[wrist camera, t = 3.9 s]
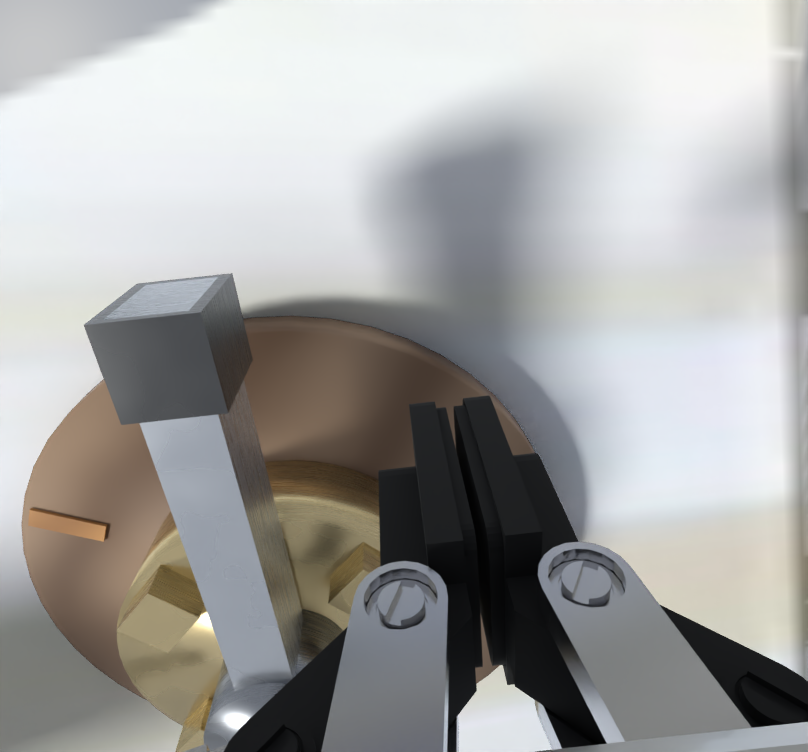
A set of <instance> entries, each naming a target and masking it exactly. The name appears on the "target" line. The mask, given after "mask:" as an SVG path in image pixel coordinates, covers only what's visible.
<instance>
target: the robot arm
mask: <svg viewBox="0 0 808 752" xmlns="http://www.w3.org/2000/svg"><path fill="white" fill-rule="evenodd" d="M409 410H410V420H411V429H412V439H413V448H414V457H415V466H413V467H404V468H395V469H386V470H379V472H378V480H379V525H380V567H378V568H376V569H375V570H374V571H372V572H371V573H369V574H368V575H367V576H366V577H365V578H364V579H363V580H362V582H361V583H360V584H359V585H358V588H357V590H356V593H355V595H354V599H353V603H352V608H351V613H350V618H349V622H348V627H347V628H346V629H345V630H343V631H342V632H341V633H340V634H339V635H338V636H337V637H336V638H335V639H334V640H333V641H332V642H331V643H330V644H329V645H328V646H326V647H325V648H324V649H323V650H322V651H321V652H320V653H319V654H318V655H317V656H316V657H315V658H314V659H313V660H312V661H311V662H309V663H308V664H307V665H306V666H305V667H304V668H303V669H302V670H301V671H300V672H299V673H298V674H297V675H296V676H295V677H294V678H292V679H291V680H290V681H289V682H288V683H287V684H286V685H285V686H284V687H283V688H282V689H281V690H280V691H279V692H278V693H277V694H275V695H274V696H273V697H272V698H271V699H270V700H269V701H268V702H267V703H266V704H265V705H264V706H263V707H262V708H261V709H260V710H258V711H257V712H256V713H255V714H254V715H253V716H252V717H251V718H250V719H249V720H248V721H247V722H246V723H245V724H244V725H243V726H242V727H241V728H240V729H239V730H238V731H237V732H236V734H235V735H234V736H233V737H232V738H231V740H230V741H229V742H228V744H227V745H224V746H221V747H218V748H215V749H212V750H209V748H208V745H207V744H204V745H201V746H198V747H195V748H192V749H189V750H187V751H184V752H459V722H458V714H459V713H460V712H461V710H462V709H463V708H464V706H465V705H466V704H467V702H468V701H469V700H470V699H471V697H472V696H473V695H474V693H475V692H476V691H477V690H476V672H475V668H478V667H483V658H482V637H481V617H482V622H483V627H484V632H485V636H486V641H487V646H488V651H489V656H490V660H491V664H492V666H496V665H503V668H504V672H505V676H506V681H507V685H511V684H515V687H517V688H518V689H520V690H521V691H523V692H524V693H526V694H527V695H529V696H530V697H531V698H533V699H534V700H535V706H536V710H537V714H538V717H539V719H540V722H541V724H542V727H543V729H544V731H545V734H546V736H547V738H548V741H549V743H550V745H551V748H552V750H546V751H537V752H808V681H806V680H805V679H804V678H803V677H801V676H800V675H798V674H797V673H795V672H793V671H792V670H790V669H788V668H787V667H785V666H783V665H781V664H779V663H777V662H775V661H773V660H771V659H769V658H767V657H765V656H763V655H761V654H759V653H757V652H755V651H753V650H751V649H749V648H747V647H745V646H743V645H741V644H739V643H737V642H735V641H733V640H730V639H728V638H726V637H724V636H722V635H720V634H718V633H716V632H714V631H712V630H710V629H708V628H706V627H704V626H702V625H700V624H698V623H696V622H694V621H692V620H690V619H688V618H686V617H684V616H682V615H680V614H677V613H675V612H673V611H671V610H669V609H667V608H665V607H663V606H661V605H659V604H658V602H657V601H656V600H655V598H654V597H653V596H652V594H651V593H650V592H649V590H648V589H647V588H646V586H645V585H644V584H643V582H642V581H641V580H640V578H639V577H638V576H637V574H636V573H635V572H634V570H633V569H632V568H631V566H630V565H629V564H628V563H627V562H626V561H625V560H624V559H623V558H622V557H621V556H619V555H618V554H616V553H615V552H613V551H611V550H610V549H608V548H605V547H602V546H599V545H596V544H594V543H586V542H578V540H577V538H576V535H575V533H574V531H573V529H572V527H571V525H570V522H569V520H568V518H567V516H566V514H565V511H564V509H563V507H562V505H561V503H560V500H559V498H558V496H557V494H556V492H555V489H554V487H553V485H552V483H551V481H550V478H549V476H548V474H547V472H546V470H545V468H544V465H543V463H542V461H541V459H540V457H539V455H538V454H536V453H530V454H521V455H513V454H512V452H511V449H510V446H509V444H508V441H507V439H506V436H505V434H504V431H503V428H502V426H501V423H500V421H499V418H498V415H497V413H496V410H495V408H494V405H493V402H492V400H491V397H490V396H489V395H488V396H479V397H470V398H463V405H460V406H454V409H453V410H454V427H455V443H456V448H455V444H454V440H453V435H452V431H451V427H450V423H449V418H448V414H447V410H446V407H442V408H436V405H435V402H424V403H415V404H409ZM480 613H481V615H480Z"/></svg>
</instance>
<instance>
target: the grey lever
mask: <svg viewBox="0 0 808 752" xmlns="http://www.w3.org/2000/svg"><path fill="white" fill-rule="evenodd" d="M84 327H85V330H86V332H87V335H88V338H89V340H90V343H91V346H92V348H93V351H94V354H95V356H96V359H97V362H98V364H99V367H100V370H101V372H102V375H103V378H104V380H105V383H106V386H107V388H108V391H109V394H110V396H111V399H112V402H113V404H114V407H115V410H116V412H117V415H118V418H119V420H120V423H121V425H127V424H136V423H140V426H141V429H142V432H143V434H144V437H145V440H146V443H147V446H148V448H149V451H150V454H151V457H152V460H153V462H154V465H155V468H156V471H157V474H158V476H159V479H160V482H161V485H162V488H163V490H164V493H165V496H166V499H167V502H168V504H169V507H170V510H171V511H170V513H169V514H168V516H167V517H166V518H165V520H164V521H163V523H162V524H161V526H160V528H159V530H158V532H157V535H156V537H155V539H154V541H153V543H152V545H151V547H150V549H149V551H148V553H147V555H146V557H145V559H144V561H143V563H142V565H141V567H140V569H139V571H138V573H137V575H136V577H135V579H134V581H133V583H132V585H131V587H130V589H129V591H128V593H127V595H126V597H125V600H124V602H123V604H122V606H121V609H120V613H119V618H118V622H117V644H118V650H119V655H120V658H121V660H122V663H123V666H124V668H125V671H126V672H127V674H128V676H129V677H130V679H131V681H132V682H133V684H134V685H135V686H136V688H137V689H138V690H139V691H140V693H141V694H142V695H143V696H144V697H145V698H146V699H147V700H148V701H149V702H150V703H151V704H152V705H153V706H154V707H155V708H157V709H158V710H159V711H161V712H162V713H163V714H165V715H166V716H168V717H169V718H170V719H172V720H174V721H175V722H177V723H179V724H181V725H182V726H183V728H182V732H181V735H180V738H179V742H178V745H177V748H176V752H184V751H187V750H189V749H192V748H195V747H198V746H201V745H204V744H207V745H208V748H209V750H212V749H215V748H218V747H221V746H224V745H227V744H228V742H229V741H230V740H231V738H232V737H233V736H234V735H235V734H236V732H237V731H238V730H239V729H240V728H241V727H242V726H243V725H244V724H245V723H246V722H247V721H248V720H249V719H250V718H251V717H252V716H253V715H254V714H255V713H256V712H257V711H258V710H260V709H261V708H262V707H263V706H264V705H265V704H266V703H267V702H268V701H269V700H270V699H271V698H272V697H273V696H274V695H275V694H277V693H278V692H279V691H280V690H281V689H282V688H283V687H284V686H285V685H286V684H287V683H288V682H289V681H290V680H291V679H292V678H294V677H295V676H296V675H297V674H298V673H299V672H300V671H301V670H302V669H303V668H304V667H305V666H306V665H307V664H308V663H309V662H311V661H312V660H313V659H314V658H315V657H316V656H317V655H318V654H319V653H320V652H321V651H322V650H323V649H324V648H325V647H326V646H328V645H329V644H330V643H331V642H332V641H333V640H334V639H335V638H336V637H337V636H338V635H339V634H340V633H341V632H342V631H343V630H345V629H346V628H347V627H348V622H349V618H350V613H351V608H352V603H353V599H354V595H355V593H356V590H357V588H358V585H359V584H360V583H361V582H362V580H363V579H364V578H365V577H366V576H367V575H368V574H369V573H371V572H372V571H374V570H375V569H376V568H378V567H380V525H379V480H377V479H375V478H373V477H371V476H369V475H366V474H364V473H361V472H359V471H356V470H353V469H349V468H346V467H342V466H339V465H335V464H329V463H323V462H317V461H303V460H282V461H269V462H265V461H264V457H263V453H262V449H261V445H260V441H259V437H258V433H257V429H256V425H255V421H254V417H253V413H252V409H251V405H250V401H249V397H248V393H247V389H246V385H245V381H244V378H245V376H246V374H247V371H248V369H249V367H250V365H251V363H252V361H253V358H252V354H251V350H250V346H249V342H248V337H247V333H246V329H245V325H244V321H243V316H242V312H241V308H240V304H239V300H238V295H237V291H236V287H235V283H234V279H233V275H232V273H231V274H222V275H213V276H204V277H195V278H186V279H176V280H167V281H158V282H149V283H140V284H136V285H135V286H134V287H132V288H131V289H130V290H128V291H127V292H126V293H125V294H123V295H122V296H121V297H119V298H118V299H117V300H116V301H114V302H113V303H112V304H110V305H109V306H108V307H107V308H105V309H104V310H103V311H101V312H100V313H99V314H97V315H96V316H95V317H94V318H92V319H91V320H90V321H88V322H87V323H86V324H85V325H84Z"/></svg>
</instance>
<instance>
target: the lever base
mask: <svg viewBox="0 0 808 752" xmlns="http://www.w3.org/2000/svg"><path fill="white" fill-rule="evenodd" d="M243 321H244V325H245V329H246V333H247V337H248V342H249V346H250V350H251V354H252V358H253V361H252V363H251V365H250V367H249V369H248V371H247V374H246V376H245V378H244V381H245V385H246V389H247V393H248V397H249V401H250V405H251V409H252V413H253V417H254V421H255V425H256V429H257V433H258V437H259V441H260V445H261V449H262V453H263V457H264V461H265V462H269V461H282V460H303V461H317V462H323V463H329V464H335V465H339V466H342V467H346V468H349V469H353V470H356V471H359V472H361V473H364V474H366V475H369V476H371V477H373V478H375V479H377V480H378V472H379V470H386V469H395V468H404V467H413V466H415V457H414V448H413V439H412V429H411V420H410V410H409V404H415V403H424V402H435V405H436V408H442V407H446V410H447V414H448V418H449V423H450V427H451V431H452V435H453V440H454V444H455V448H456V443H455V427H454V410H453V409H454V406H460V405H463V398H470V397H479V396H488V395H489V396H490V397H491V400H492V402H493V405H494V408H495V410H496V413H497V415H498V418H499V421H500V423H501V426H502V428H503V431H504V434H505V436H506V439H507V441H508V444H509V446H510V449H511V452H512V454H513V455H521V454H530V453H535V452H534V450H533V448H532V445H531V444H530V442H529V440H528V439H527V437H526V436H525V434H524V432H523V431H522V429H521V428H520V426H519V424H518V423H517V421H516V420H515V418H514V417H513V416H512V415H511V414H510V413H509V411H508V410H507V409H506V408H505V407H504V406H503V404H502V403H501V402H500V401H499V400H498V399H497V397H496V396H495V395H494V394H492V393H491V392H490V391H489V390H488V389H487V388H486V387H484V386H483V385H482V384H481V383H480V382H479V381H478V380H476V379H475V378H474V377H473V376H472V375H471V374H469V373H468V372H466V371H465V370H463V369H462V368H460V367H459V366H457V365H456V364H454V363H452V362H451V361H449V360H448V359H446V358H445V357H443V356H442V355H440V354H438V353H436V352H434V351H432V350H430V349H428V348H425V347H423V346H421V345H419V344H417V343H415V342H413V341H411V340H409V339H406V338H403V337H400V336H397V335H394V334H391V333H388V332H385V331H382V330H379V329H376V328H373V327H370V326H365V325H360V324H355V323H350V322H345V321H340V320H335V319H327V318H314V317H301V316H277V317H255V318H247V319H243ZM170 511H171V510H170V507H169V504H168V502H167V499H166V496H165V493H164V490H163V488H162V485H161V482H160V479H159V476H158V474H157V471H156V468H155V465H154V462H153V460H152V457H151V454H150V451H149V448H148V446H147V443H146V440H145V437H144V434H143V432H142V429H141V426H140V423H136V424H127V425H121V423H120V420H119V418H118V415H117V412H116V410H115V407H114V404H113V402H112V399H111V396H110V394H109V391H108V388H107V386H106V383H105V380H104V379H103V380H102V381H101V382H100V383H99V384H98V385H97V386H96V387H94V388H93V389H92V390H91V391H90V392H89V393H88V394H87V395H86V396H85V397H84V398H83V399H82V400H81V401H80V402H79V403H78V404H77V405H76V406H75V407H74V408H73V409H72V410H71V411H70V412H69V413H68V415H67V416H66V417H65V418H64V420H63V421H62V422H61V424H60V425H59V426H58V427H57V429H56V430H55V431H54V432H53V434H52V435H51V436H50V438H49V439H48V440H47V442H46V444H45V446H44V448H43V450H42V452H41V454H40V456H39V457H38V459H37V461H36V463H35V465H34V467H33V470H32V473H31V477H30V480H29V483H28V486H27V490H26V493H25V498H24V507H23V515H22V536H23V549H24V554H25V558H26V562H27V566H28V570H29V574H30V578H31V580H32V582H33V585H34V587H35V589H36V591H37V594H38V596H39V598H40V601H41V603H42V604H43V606H44V608H45V609H46V611H47V612H48V614H49V615H50V617H51V619H52V620H53V622H54V623H55V625H56V626H57V628H58V629H59V630H60V631H61V632H62V634H63V635H64V636H65V637H66V638H67V639H68V641H69V642H70V643H71V644H72V645H73V647H74V648H75V649H76V650H78V651H79V652H80V653H81V654H82V655H83V656H84V657H85V658H86V659H87V660H88V661H89V662H91V663H92V664H93V665H94V666H95V667H96V668H98V669H99V670H100V671H102V672H103V673H104V674H106V675H107V676H108V677H110V678H111V679H113V680H114V681H115V682H117V683H118V684H120V685H121V686H123V687H125V688H127V689H128V690H130V691H132V692H133V693H135V694H137V695H139V696H140V697H142V698H144V699H146V698H145V697H144V696H143V695H142V694H141V693H140V691H139V690H138V689H137V688H136V686H135V685H134V684H133V682H132V681H131V679H130V677H129V676H128V674H127V672H126V671H125V668H124V666H123V663H122V660H121V658H120V655H119V650H118V644H117V622H118V618H119V613H120V609H121V606H122V604H123V602H124V600H125V597H126V595H127V593H128V591H129V589H130V587H131V585H132V583H133V581H134V579H135V577H136V575H137V573H138V571H139V569H140V567H141V565H142V563H143V561H144V559H145V557H146V555H147V553H148V551H149V549H150V547H151V545H152V543H153V541H154V539H155V537H156V535H157V532H158V530H159V528H160V526H161V524H162V523H163V521H164V520H165V518H166V517H167V516H168V514H169V513H170ZM480 615H481V613H480ZM481 637H482V658H483V667H478V668H475V672H476V684H477V683H478V682H479V681H481V680H482V679H484V678H485V677H486V676H488V675H489V674H490V673H491V672H493V671H494V670H495V669H496V668H497V667H498V666H499V665H496V666H492V664H491V660H490V656H489V651H488V646H487V641H486V636H485V632H484V627H483V622H482V617H481ZM146 700H147V699H146Z"/></svg>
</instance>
